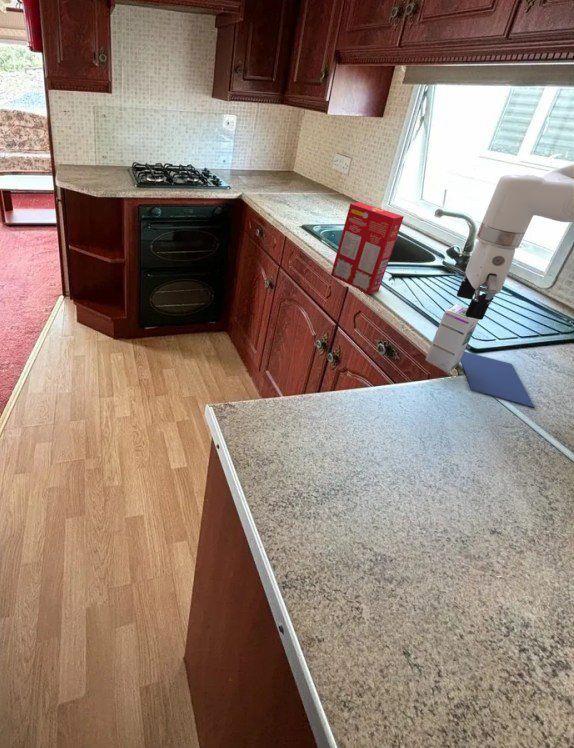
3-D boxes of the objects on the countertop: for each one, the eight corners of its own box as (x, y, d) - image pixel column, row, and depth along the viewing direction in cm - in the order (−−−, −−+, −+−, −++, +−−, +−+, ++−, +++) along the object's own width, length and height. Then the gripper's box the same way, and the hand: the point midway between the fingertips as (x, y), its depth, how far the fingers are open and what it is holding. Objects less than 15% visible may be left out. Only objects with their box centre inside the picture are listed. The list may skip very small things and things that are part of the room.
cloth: (511, 364, 99) (511, 363, 99) (534, 408, 86) (534, 407, 86) (457, 350, 103) (457, 349, 103) (471, 390, 89) (471, 389, 89)
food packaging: (378, 290, 129) (403, 216, 118) (369, 294, 126) (394, 218, 115) (339, 272, 139) (359, 202, 128) (330, 275, 136) (350, 203, 125)
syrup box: (448, 373, 94) (474, 321, 87) (423, 360, 98) (445, 308, 91) (458, 365, 97) (483, 314, 91) (433, 352, 101) (455, 302, 94)
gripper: (536, 253, 74) (498, 331, 82) (508, 226, 89) (478, 294, 96) (489, 245, 76) (457, 321, 84) (469, 220, 91) (443, 287, 99)
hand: (468, 307), depth 90 cm, fingers open, 9 cm apart
